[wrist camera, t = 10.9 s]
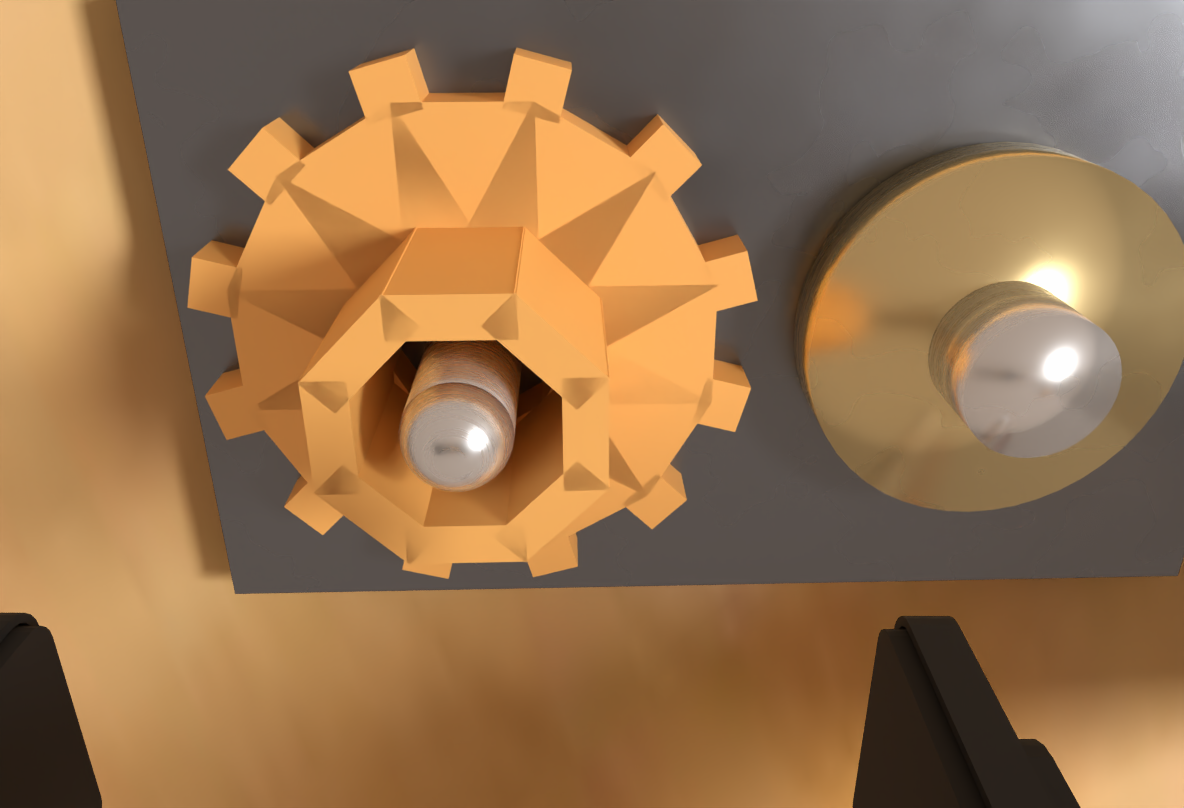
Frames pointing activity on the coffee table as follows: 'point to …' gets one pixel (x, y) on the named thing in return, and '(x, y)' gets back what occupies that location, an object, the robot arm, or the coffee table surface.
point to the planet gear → (475, 310)
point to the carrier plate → (771, 275)
